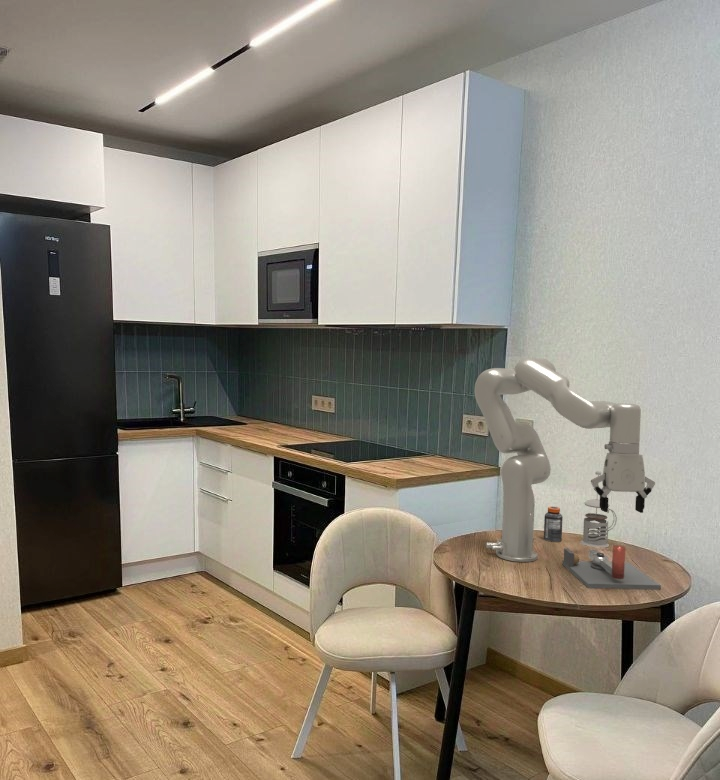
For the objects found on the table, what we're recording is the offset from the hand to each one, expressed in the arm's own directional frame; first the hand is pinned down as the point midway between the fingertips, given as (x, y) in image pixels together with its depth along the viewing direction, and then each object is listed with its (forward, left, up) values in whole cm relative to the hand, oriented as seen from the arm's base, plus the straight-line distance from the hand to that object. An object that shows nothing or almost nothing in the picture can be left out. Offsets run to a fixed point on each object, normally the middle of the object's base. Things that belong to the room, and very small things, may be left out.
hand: (621, 511), depth 173 cm
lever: (0, +8, -18) cm, 20 cm away
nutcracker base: (+1, +8, -21) cm, 22 cm away
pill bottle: (-3, +45, -21) cm, 50 cm away
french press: (+11, +41, -21) cm, 47 cm away
